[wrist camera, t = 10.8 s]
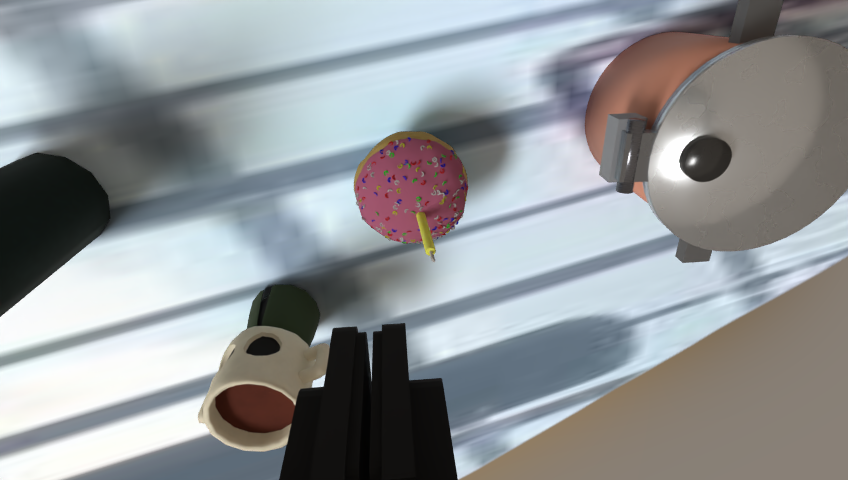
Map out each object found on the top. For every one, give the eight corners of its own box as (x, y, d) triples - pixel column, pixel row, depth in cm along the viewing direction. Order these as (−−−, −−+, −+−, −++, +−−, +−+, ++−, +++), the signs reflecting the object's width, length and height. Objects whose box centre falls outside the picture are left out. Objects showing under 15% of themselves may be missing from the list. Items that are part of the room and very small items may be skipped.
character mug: (319, 257, 42) (295, 354, 31) (356, 315, 46) (347, 422, 34) (214, 303, 44) (155, 412, 32) (258, 356, 47) (217, 473, 35)
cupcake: (476, 188, 41) (509, 256, 30) (390, 234, 42) (393, 314, 31) (429, 99, 37) (447, 140, 26) (336, 152, 38) (318, 212, 28)
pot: (573, -10, 34) (643, -13, 25) (760, -16, 35) (895, -20, 26) (549, 217, 42) (595, 278, 33) (701, 208, 43) (788, 266, 34)
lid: (636, 38, 26) (650, 41, 24) (901, 31, 26) (933, 33, 24) (601, 247, 32) (611, 261, 30) (818, 241, 32) (839, 254, 30)
